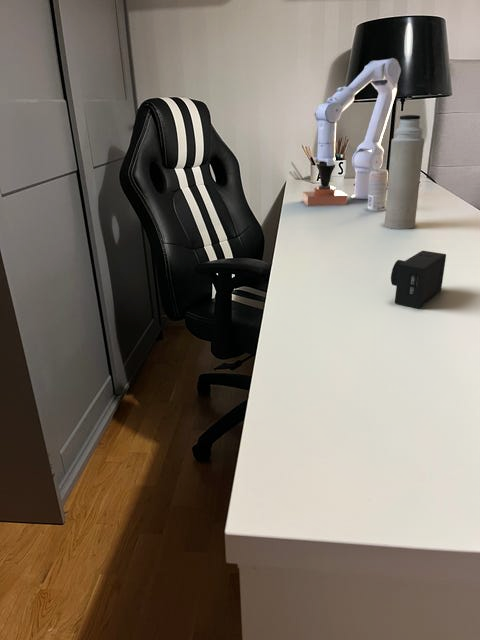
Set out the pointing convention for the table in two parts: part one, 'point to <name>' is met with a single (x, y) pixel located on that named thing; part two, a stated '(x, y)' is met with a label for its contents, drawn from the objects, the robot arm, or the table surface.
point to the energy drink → (377, 190)
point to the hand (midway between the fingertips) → (324, 185)
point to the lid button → (324, 187)
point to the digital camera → (418, 278)
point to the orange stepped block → (324, 197)
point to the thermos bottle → (404, 174)
